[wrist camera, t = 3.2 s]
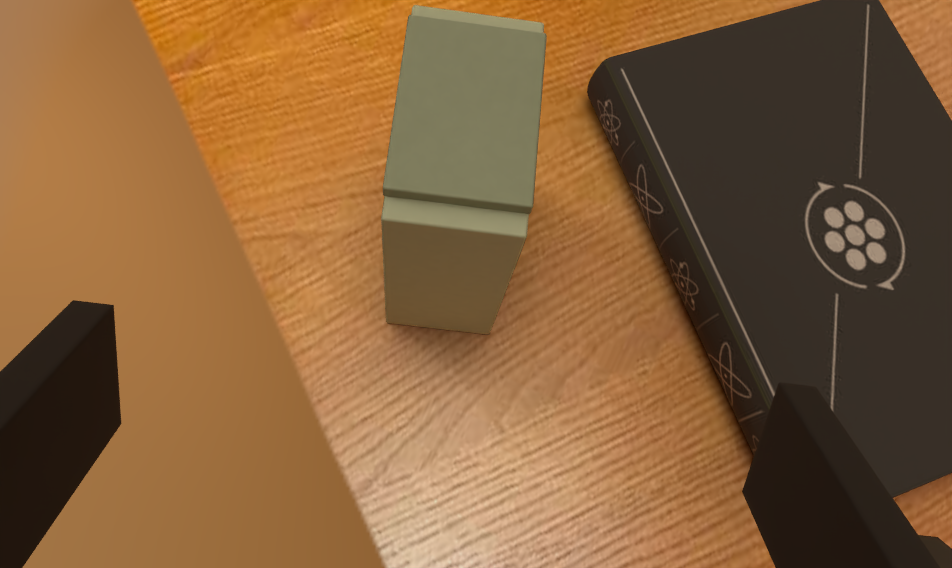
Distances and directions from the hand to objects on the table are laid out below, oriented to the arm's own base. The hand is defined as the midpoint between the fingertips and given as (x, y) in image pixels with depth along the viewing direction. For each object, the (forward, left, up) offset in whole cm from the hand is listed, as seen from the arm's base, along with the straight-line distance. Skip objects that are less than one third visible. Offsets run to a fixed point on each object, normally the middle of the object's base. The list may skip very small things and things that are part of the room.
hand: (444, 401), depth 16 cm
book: (+17, +13, -18) cm, 28 cm away
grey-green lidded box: (0, +11, -18) cm, 21 cm away
